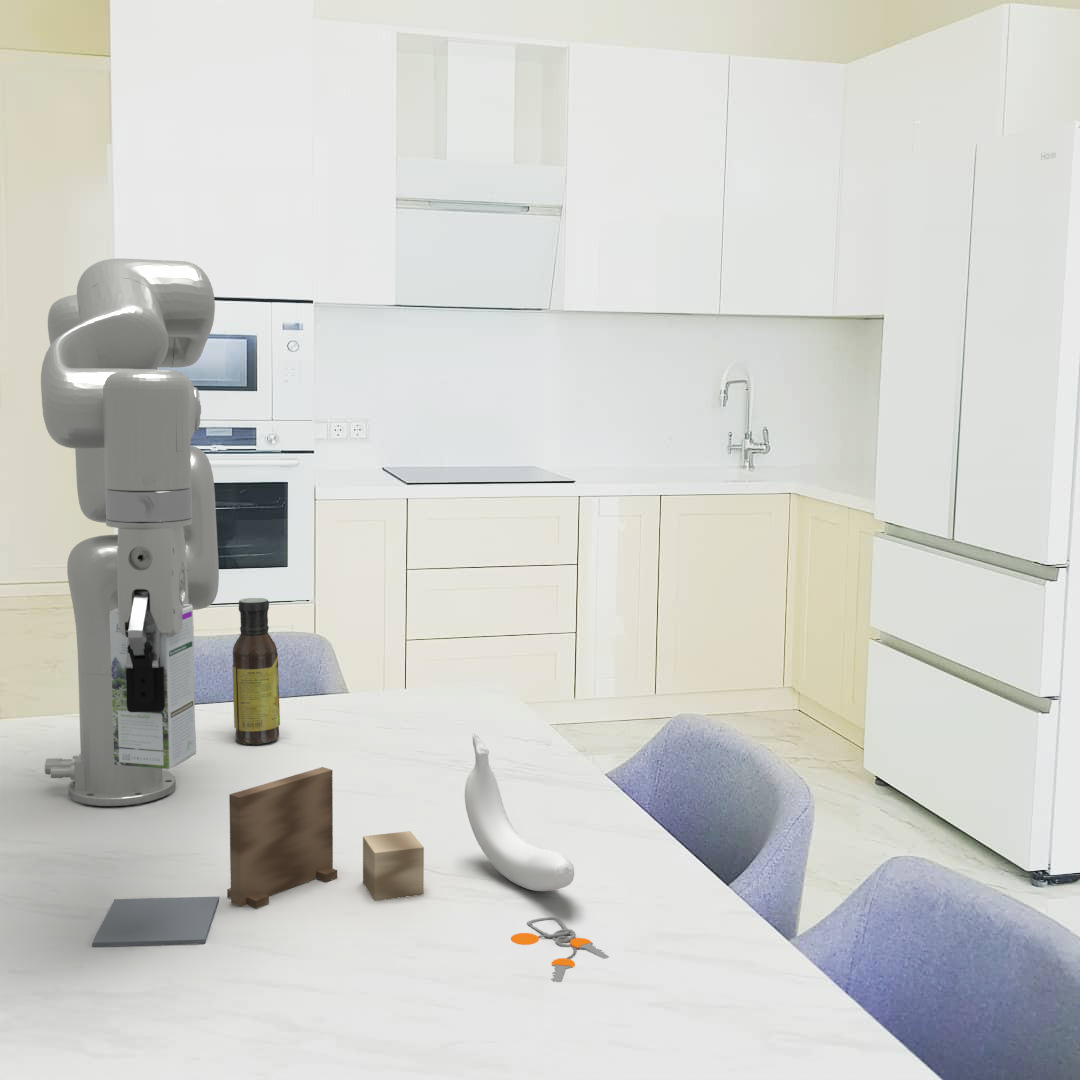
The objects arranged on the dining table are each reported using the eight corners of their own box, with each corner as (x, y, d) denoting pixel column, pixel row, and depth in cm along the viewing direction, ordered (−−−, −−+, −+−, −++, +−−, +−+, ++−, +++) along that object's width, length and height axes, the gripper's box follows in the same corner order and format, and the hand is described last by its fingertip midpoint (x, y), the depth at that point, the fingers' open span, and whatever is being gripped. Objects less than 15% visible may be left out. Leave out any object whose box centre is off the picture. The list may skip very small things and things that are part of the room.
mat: (92, 946, 122) (91, 942, 122) (114, 903, 132) (114, 899, 132) (205, 943, 124) (204, 939, 123) (219, 900, 133) (219, 896, 133)
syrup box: (198, 753, 128) (195, 601, 126) (169, 771, 122) (165, 612, 120) (142, 750, 129) (139, 599, 127) (111, 767, 123) (106, 609, 121)
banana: (559, 922, 130) (561, 774, 128) (449, 862, 145) (450, 728, 143) (598, 910, 132) (601, 765, 131) (487, 852, 147) (488, 721, 146)
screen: (250, 910, 131) (248, 800, 130) (221, 899, 134) (219, 791, 132) (342, 875, 140) (342, 772, 139) (313, 865, 143) (313, 764, 142)
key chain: (494, 930, 128) (494, 921, 128) (564, 918, 131) (564, 910, 131) (550, 987, 117) (550, 978, 117) (625, 973, 120) (625, 963, 120)
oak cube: (374, 901, 134) (374, 853, 133) (362, 883, 139) (362, 836, 138) (423, 895, 136) (423, 847, 135) (410, 877, 140) (410, 831, 140)
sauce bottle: (288, 740, 189) (287, 600, 187) (249, 749, 185) (248, 605, 182) (263, 731, 194) (261, 594, 191) (224, 739, 189) (222, 599, 187)
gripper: (176, 518, 114) (180, 724, 117) (204, 500, 132) (208, 679, 134) (84, 518, 114) (90, 725, 116) (125, 499, 131) (130, 680, 133)
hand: (153, 699), depth 125 cm, fingers closed on syrup box, 7 cm apart
